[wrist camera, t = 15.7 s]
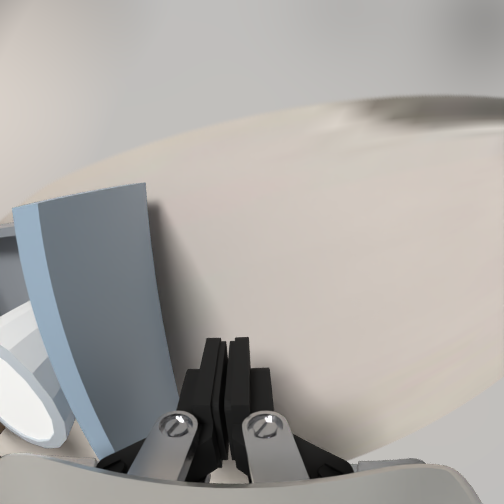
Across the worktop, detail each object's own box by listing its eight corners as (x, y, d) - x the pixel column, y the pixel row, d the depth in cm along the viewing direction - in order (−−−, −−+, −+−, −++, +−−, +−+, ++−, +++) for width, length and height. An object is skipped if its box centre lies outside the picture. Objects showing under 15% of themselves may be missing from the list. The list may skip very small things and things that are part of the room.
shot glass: (131, 320, 16) (75, 402, 9) (100, 392, 17) (59, 466, 10) (37, 258, 15) (-44, 303, 8) (22, 338, 16) (-35, 393, 9)
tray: (27, 387, 18) (-25, 453, 10) (-25, 211, 14) (-116, 241, 6) (182, 411, 18) (157, 519, 10) (145, 182, 14) (37, 203, 6)
